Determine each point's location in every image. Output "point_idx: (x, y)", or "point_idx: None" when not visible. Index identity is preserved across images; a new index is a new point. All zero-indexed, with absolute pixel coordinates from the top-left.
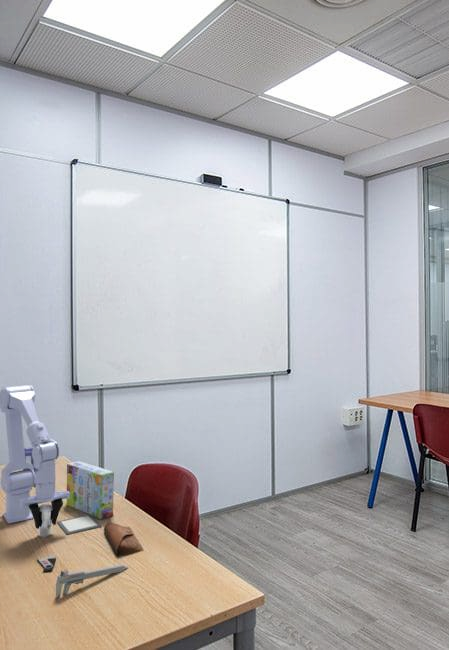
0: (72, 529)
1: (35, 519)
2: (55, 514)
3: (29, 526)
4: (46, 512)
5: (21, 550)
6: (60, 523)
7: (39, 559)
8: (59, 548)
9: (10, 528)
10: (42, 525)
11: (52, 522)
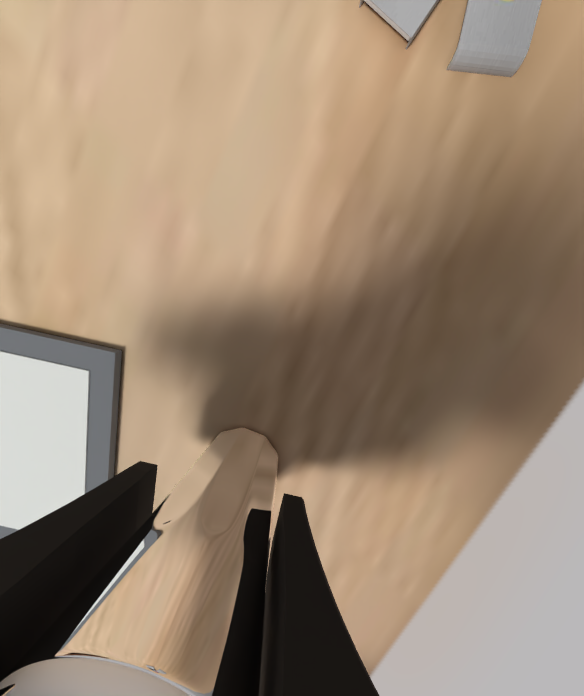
0: (57, 386)
1: (332, 597)
2: (48, 544)
3: None
4: (146, 649)
5: (479, 350)
6: None
7: (524, 14)
8: (262, 162)
9: None
10: (253, 500)
11: (147, 504)
